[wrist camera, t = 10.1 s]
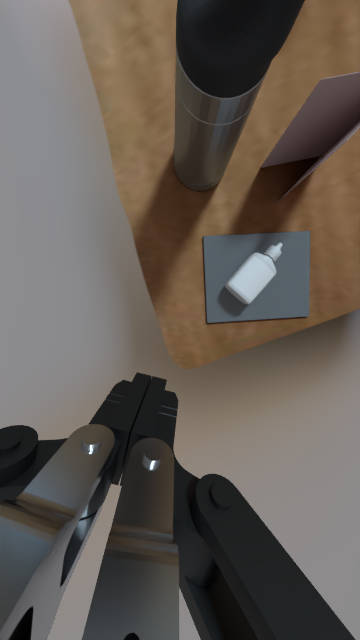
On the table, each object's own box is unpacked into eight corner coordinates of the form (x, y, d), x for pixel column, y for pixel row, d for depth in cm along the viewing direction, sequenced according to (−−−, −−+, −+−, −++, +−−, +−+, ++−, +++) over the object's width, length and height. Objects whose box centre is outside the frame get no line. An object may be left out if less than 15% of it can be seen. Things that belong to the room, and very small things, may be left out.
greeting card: (320, 150, 37) (422, 50, 22) (325, 193, 38) (426, 125, 23) (259, 162, 37) (320, 70, 22) (265, 205, 37) (327, 145, 23)
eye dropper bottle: (248, 301, 34) (297, 245, 33) (222, 282, 36) (268, 229, 35) (248, 307, 38) (292, 258, 37) (225, 290, 40) (266, 243, 39)
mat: (203, 237, 38) (203, 236, 37) (308, 231, 38) (310, 230, 38) (207, 322, 39) (207, 322, 39) (307, 316, 40) (309, 316, 40)
